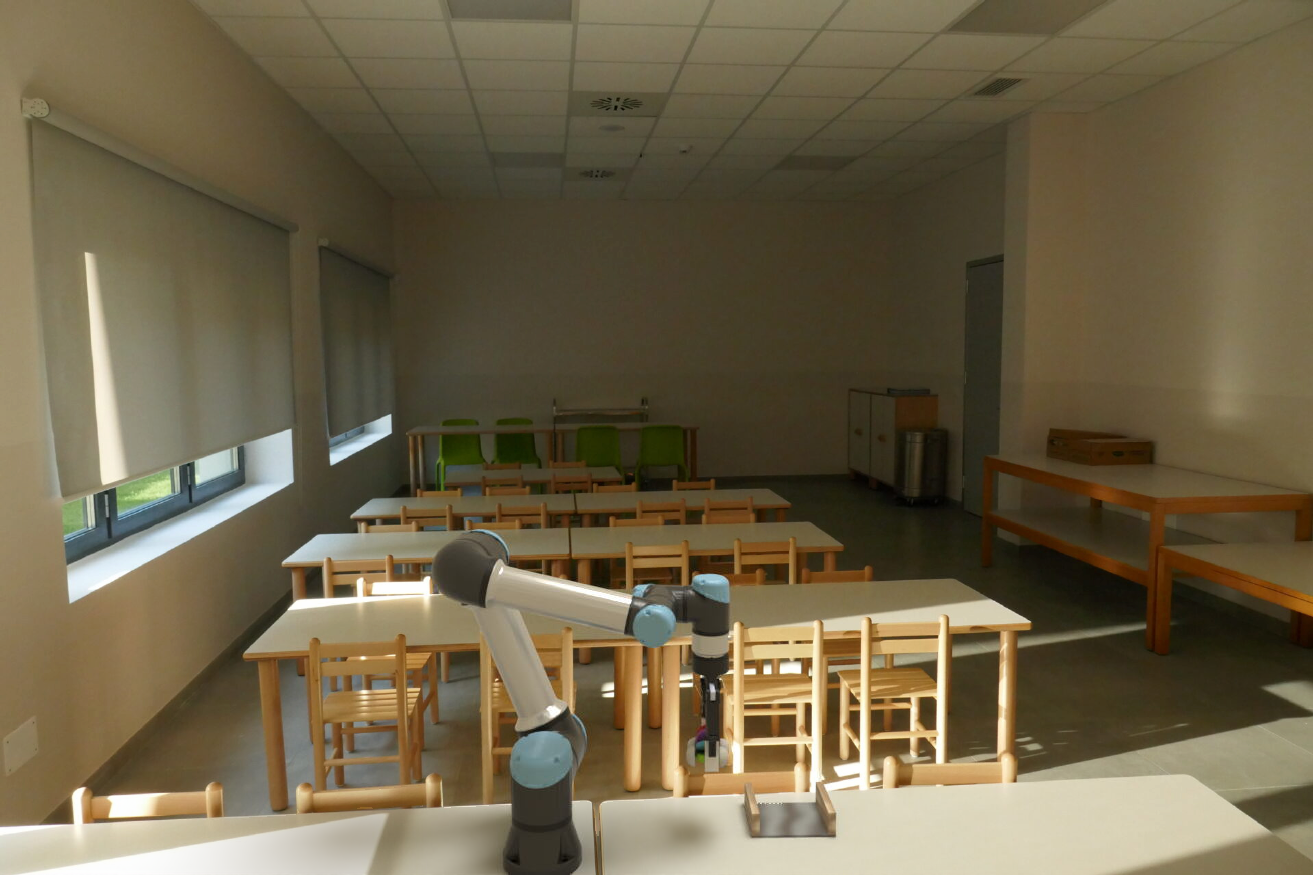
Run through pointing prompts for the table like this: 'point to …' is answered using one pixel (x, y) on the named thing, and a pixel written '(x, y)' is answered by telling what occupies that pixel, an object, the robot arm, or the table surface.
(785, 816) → the bay
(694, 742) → the rainbow petal toy
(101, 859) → the table surface
